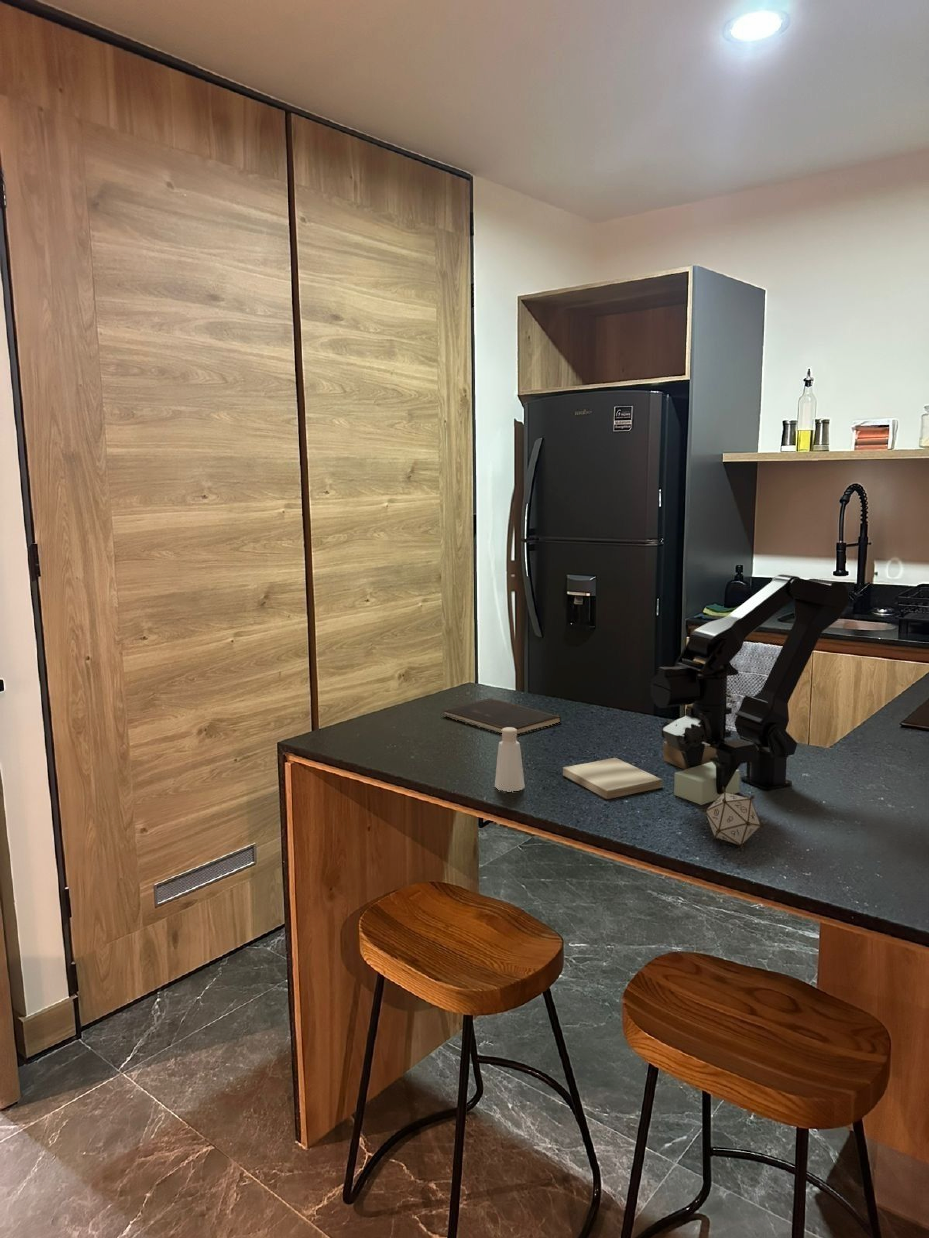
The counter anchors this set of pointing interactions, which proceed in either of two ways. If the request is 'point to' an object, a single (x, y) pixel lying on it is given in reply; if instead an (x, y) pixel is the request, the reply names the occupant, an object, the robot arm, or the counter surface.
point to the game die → (732, 818)
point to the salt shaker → (509, 762)
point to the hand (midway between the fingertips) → (706, 787)
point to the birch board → (612, 778)
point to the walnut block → (677, 759)
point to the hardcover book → (502, 715)
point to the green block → (702, 783)
